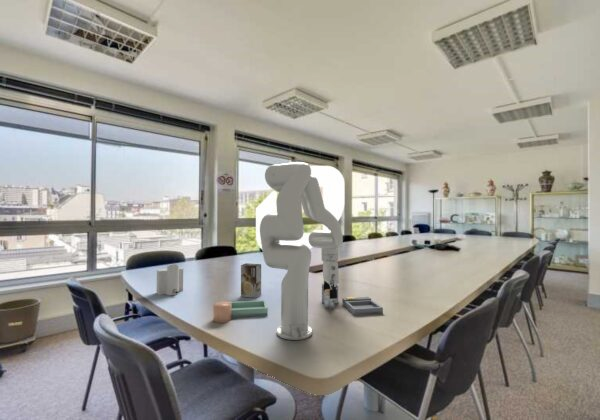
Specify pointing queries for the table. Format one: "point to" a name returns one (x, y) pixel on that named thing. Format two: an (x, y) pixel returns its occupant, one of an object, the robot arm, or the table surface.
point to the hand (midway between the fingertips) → (330, 295)
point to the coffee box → (250, 280)
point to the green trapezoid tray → (249, 308)
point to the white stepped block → (170, 280)
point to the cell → (328, 301)
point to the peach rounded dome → (222, 312)
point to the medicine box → (324, 294)
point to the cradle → (361, 306)
